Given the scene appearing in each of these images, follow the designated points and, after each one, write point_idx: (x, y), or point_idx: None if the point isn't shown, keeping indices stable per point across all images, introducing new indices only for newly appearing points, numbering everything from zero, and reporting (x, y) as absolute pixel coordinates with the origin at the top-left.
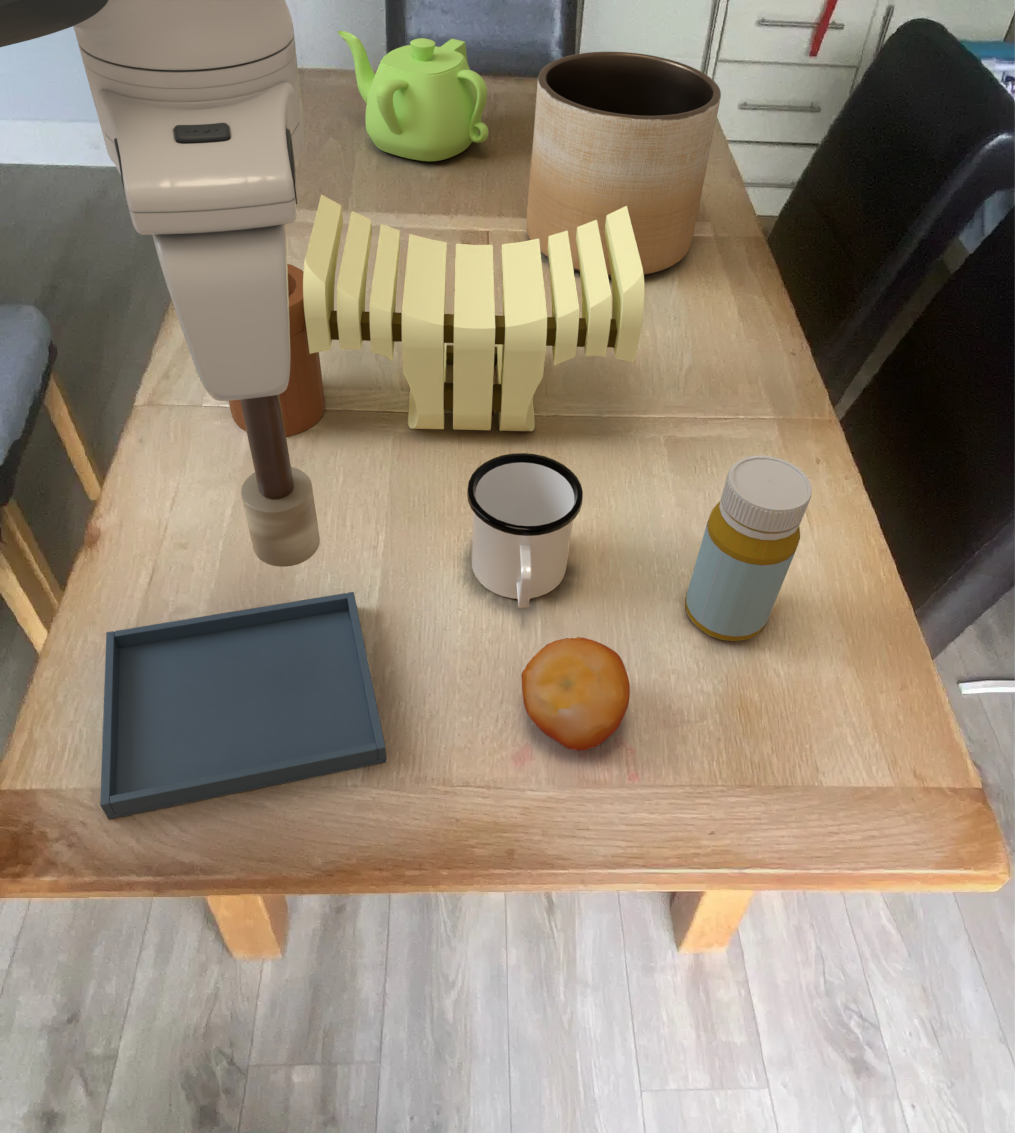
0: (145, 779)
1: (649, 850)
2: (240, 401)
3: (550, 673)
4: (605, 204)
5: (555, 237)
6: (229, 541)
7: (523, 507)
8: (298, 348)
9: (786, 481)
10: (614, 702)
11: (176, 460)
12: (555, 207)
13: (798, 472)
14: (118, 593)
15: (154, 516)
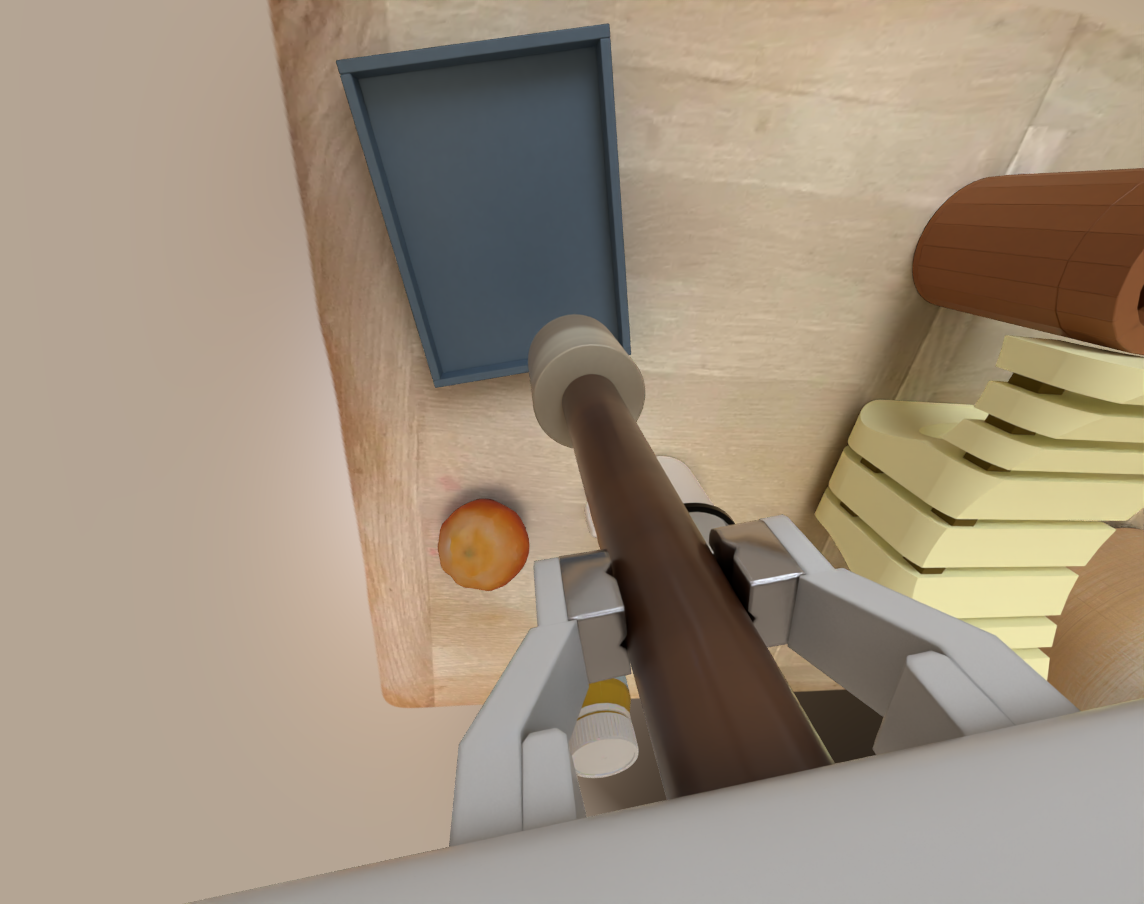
0: (398, 116)
1: (372, 555)
2: (624, 473)
3: (481, 542)
4: (1094, 639)
5: (1048, 632)
6: (753, 192)
7: (702, 515)
8: (1031, 312)
9: (603, 765)
10: (454, 579)
11: (931, 94)
12: (1130, 587)
13: (612, 772)
14: (697, 28)
15: (830, 70)
